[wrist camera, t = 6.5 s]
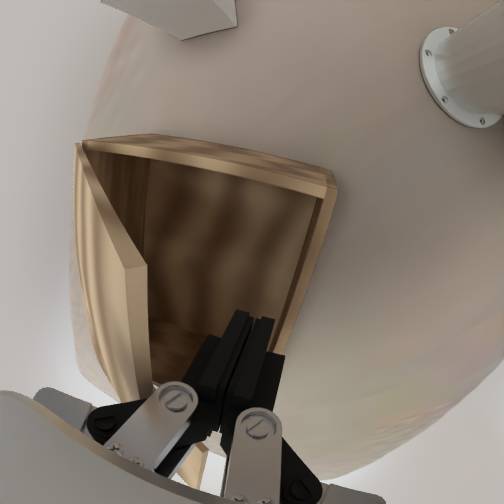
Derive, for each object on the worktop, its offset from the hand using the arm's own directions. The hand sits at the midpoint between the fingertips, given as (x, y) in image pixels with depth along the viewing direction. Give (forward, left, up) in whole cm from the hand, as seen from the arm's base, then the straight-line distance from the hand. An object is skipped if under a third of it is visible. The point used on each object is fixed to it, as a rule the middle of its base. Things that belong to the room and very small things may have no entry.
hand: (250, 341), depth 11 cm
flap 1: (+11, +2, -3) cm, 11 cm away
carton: (+8, +9, -22) cm, 25 cm away
